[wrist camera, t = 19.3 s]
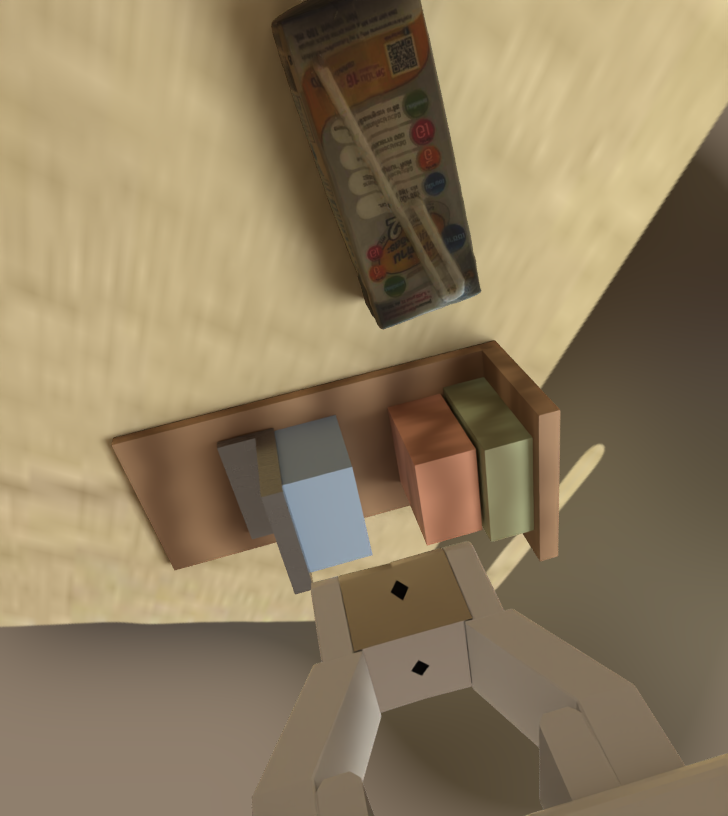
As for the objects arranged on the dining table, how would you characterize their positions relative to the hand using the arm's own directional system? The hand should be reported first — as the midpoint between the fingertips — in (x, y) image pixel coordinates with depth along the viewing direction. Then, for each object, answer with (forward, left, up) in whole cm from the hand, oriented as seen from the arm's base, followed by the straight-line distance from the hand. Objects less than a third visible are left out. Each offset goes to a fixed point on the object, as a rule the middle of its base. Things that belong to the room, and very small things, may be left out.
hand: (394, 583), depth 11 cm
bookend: (+6, +22, -32) cm, 39 cm away
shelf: (0, +22, -34) cm, 40 cm away
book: (+2, +22, -33) cm, 39 cm away
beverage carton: (-7, -1, -34) cm, 35 cm away
